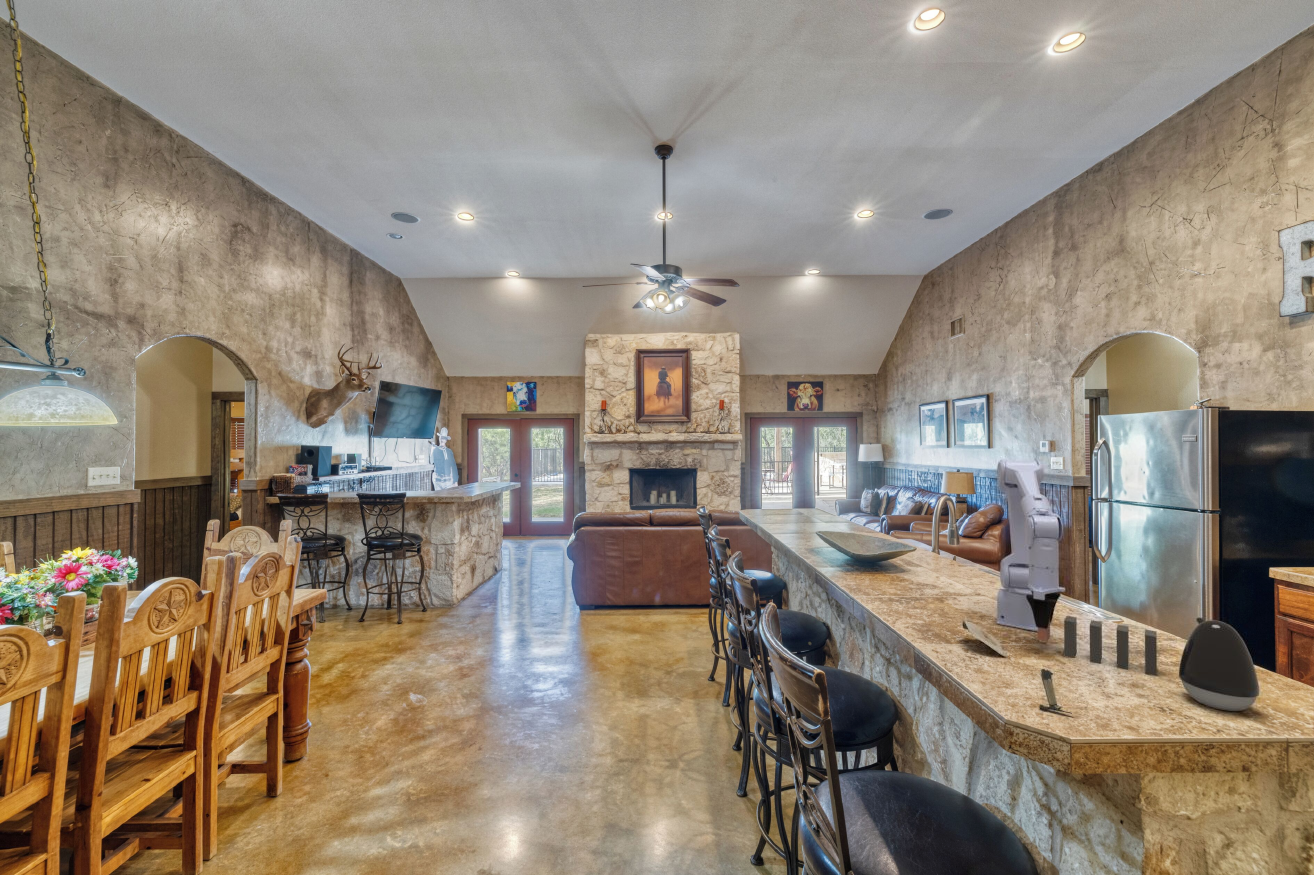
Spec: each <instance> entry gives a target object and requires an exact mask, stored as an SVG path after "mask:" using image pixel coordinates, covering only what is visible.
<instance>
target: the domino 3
mask: <svg viewBox="0 0 1314 875" xmlns="http://www.w3.org/2000/svg"><path fill="white" fill-rule="evenodd" d="M1129 632H1130V631H1129V626H1127V625H1123V624H1122V625H1121V624H1117V626H1116V668H1118V669H1122V670H1125V671H1126V670H1127V671H1128V670H1129V664H1130V663H1129V662H1130V660H1129V657H1130V653H1129V652H1130V651H1129V649H1130V648H1129V646H1130V645H1129V643H1130V642H1129V641H1130V639H1129V634H1130V633H1129Z"/></svg>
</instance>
